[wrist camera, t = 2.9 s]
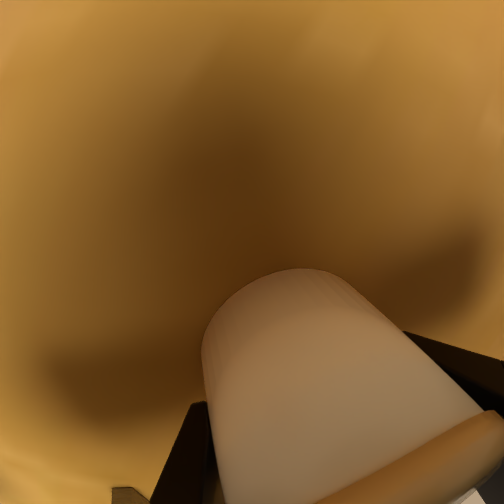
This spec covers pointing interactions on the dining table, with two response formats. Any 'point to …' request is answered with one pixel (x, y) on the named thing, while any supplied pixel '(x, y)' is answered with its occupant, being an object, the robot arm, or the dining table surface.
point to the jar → (335, 402)
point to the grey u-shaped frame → (127, 496)
